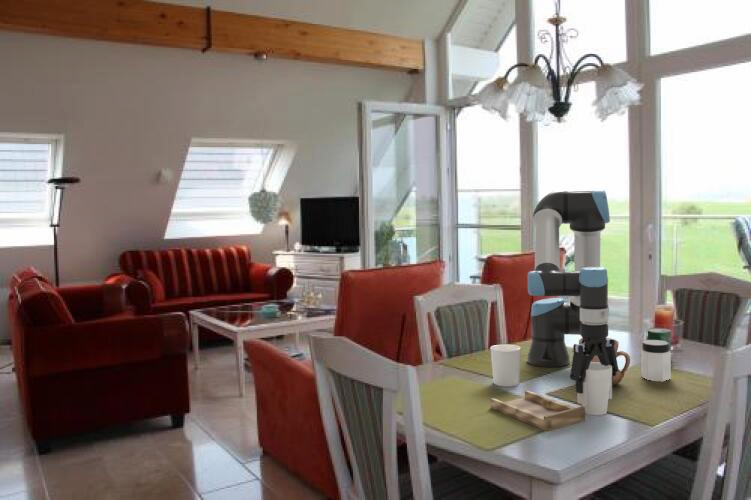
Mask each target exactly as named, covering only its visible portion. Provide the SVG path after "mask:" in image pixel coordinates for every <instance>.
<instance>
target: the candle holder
mask: <svg viewBox="0 0 751 500" xmlns="http://www.w3.org/2000/svg"><path fill="white" fill-rule="evenodd" d="M489 349H490V355H491V356H490V357H491V370H492V379H493V384H494V385H495V386H499V387H504V388H505V387H506V388H507V387H508V388H509V387H510V388H511V387H516V386H518V385H519V384H520V373H521V372H520V370H521V350H522V348H521V346H519V345H516V344H509V343H504V344H496V345H491V346H490V348H489Z"/></svg>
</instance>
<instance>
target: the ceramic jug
mask: <svg viewBox="0 0 751 500" xmlns="http://www.w3.org/2000/svg"><path fill="white" fill-rule="evenodd" d="M607 338H608V339H613V340H614V341H615V343H614V349H615V354H616V358H618V357H620V356H623V357H624V358H625V359H624V360H625V363H624V366H623V367H622V369H621V370H620V369H619V370H618V372H615V373H616V376H613V386H615V385H617V384H619V383H620V382H621V381H622V380H623V378H624V376H625V373H626V372H627V370H628V369H629V367H630V365H631V357H630V355H629V354H628V352H626V351H623V350H620V351H618V349H619V343H620V342H619V341H618V340H617V339H615V338H611V337H607ZM581 343H582V337H581V338H579V340H578V345H579V344H581ZM571 352H572V353H574V349H573V347H572V348H571ZM586 355H587V354H586ZM588 356H589V355H588ZM591 362H598V363H600V361H599V358H598V356H597V355H596V356H594V358H593V360H591ZM613 367H614V366H613Z"/></svg>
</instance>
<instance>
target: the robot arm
mask: <svg viewBox="0 0 751 500" xmlns="http://www.w3.org/2000/svg"><path fill="white" fill-rule="evenodd" d="M610 222H611V217H610V210H609V204H608V198H607V192H606V190H604V189H602V188H592V187H591V188H590V187H589V188H578V189H577V188H575V189H574V188H573V189H557V190H554V191H552V192H549V193H548V194H547V195H545V196H543V198H541V199H540V200H539V202H538V203H537V205H535V208H534V210H533V213H532V226H534V228H535V234H534V235H535V241H534V243H535V244H534V270H529V271H528V272H527V293H528V294H529V295H530V296H535V297H550V298H543V299H540V300H536V301H534V302H533V303H532V305H531V313H530V316H531V343H530V347H529V352H528V353H527V355H526V357H527V363H529V364H530V365H533V366H538V367H547V368H548V367H549V368H550V367H551V368H554V367H555V368H557V367H564V366H568V365H569V364H570V362H571V359H570V353H569V351H568V349H567V344H566V343H565V335H570V336H571V335H572V336H573V335H577V336H578V335H579V336H581V338H582V343H581V344H579V343H578V344H577V343H575V344H573V346H572V348H573V349H574V352H573V355H572V362H571V366H570V373H569V379H570V380H571V381H575V392H576V393H577V397H576V399H577V401H576V402H577V404H579V405H587V388H586V382H584V380H585V377H586V370H587V369H588V368H589V365H590V362H591V360H593V358H594V356H596V355H597V356H598V358H599V361H600V363H601V365H605V366H608V365H611V366H612V377H611V382H610V390H609V398H608V400H612V399H613V386H614V385H613V376H616V373H615V372H618V370H620V368H619V366H618V360H617V357H616V354H615V349H614V343H615V341H614V340H613V339H614V338H611V339H608V338H609V337H608V336H609V324H608V322H609V311H610V306H609V303H608V302H609V301H608V300H609V289H608V287H609V286H608V285H609V283H608V282H609V276H608V270H607V268H605V267H601V233H602V232H603V231H604V230H605V229H606V224H608V223H610ZM562 224H563V225H564V224H565V225H566V224H567V225H569V229H570V230H571V231H572V232H573V233H574V234H573V235H574V236H573V237H574V239H573V240H574V245H573V246H574V249H573V251H574V270H561V268H560V267H561V266H560V265H561V260H560V259H561V258H560V256H561V255H560V254H561V253H560V251H561V250H560V227H561V225H562ZM562 297H570V300H569V302H566V301H565V300H564V298H562ZM586 354H587V355H586ZM588 355H589V356H588ZM613 366H614V367H613ZM580 376H581V377H580Z"/></svg>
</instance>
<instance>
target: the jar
mask: <svg viewBox="0 0 751 500" xmlns="http://www.w3.org/2000/svg"><path fill="white" fill-rule="evenodd" d="M641 345H642V346H641V347H642V348H641V349H640V377H641V378H643V379H644V378H645V379H644V380H646V379H647V380H646V381H648V380H651V382H659V381H660V382H659V383H662V382H666V380H667V381H669V379H670V380H671V379H672V376H671V375H672V374H671V372H672V369H671V366H672V363H671V362H672V353H671V352H672V350H671V351H669V343H668V342H666V341H661V340H648V339H647V340H643V341H642V344H641Z"/></svg>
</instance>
